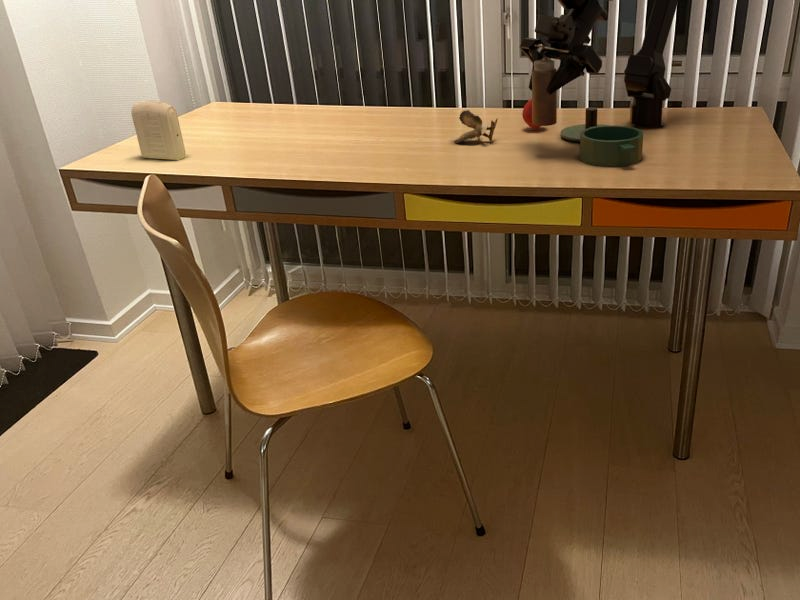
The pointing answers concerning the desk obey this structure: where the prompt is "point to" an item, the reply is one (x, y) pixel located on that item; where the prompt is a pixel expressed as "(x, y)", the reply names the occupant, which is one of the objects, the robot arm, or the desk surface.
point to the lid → (575, 130)
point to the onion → (529, 115)
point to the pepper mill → (543, 94)
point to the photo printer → (158, 130)
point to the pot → (611, 145)
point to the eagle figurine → (475, 127)
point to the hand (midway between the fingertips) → (539, 91)
